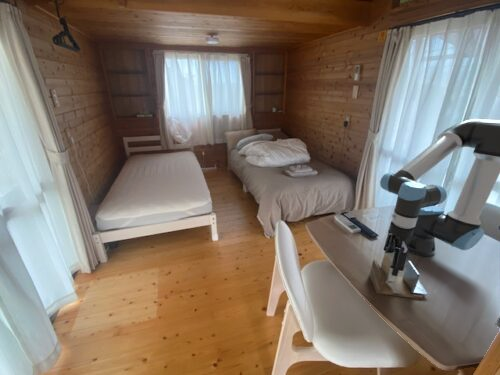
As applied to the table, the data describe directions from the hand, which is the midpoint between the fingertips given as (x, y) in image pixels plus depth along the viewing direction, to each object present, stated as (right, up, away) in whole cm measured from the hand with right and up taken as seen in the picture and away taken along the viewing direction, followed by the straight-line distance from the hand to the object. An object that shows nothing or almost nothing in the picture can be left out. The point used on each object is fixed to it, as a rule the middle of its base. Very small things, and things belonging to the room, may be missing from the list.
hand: (388, 274), depth 96 cm
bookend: (+11, -5, 0) cm, 12 cm away
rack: (+3, -5, +1) cm, 6 cm away
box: (0, -2, +1) cm, 2 cm away
